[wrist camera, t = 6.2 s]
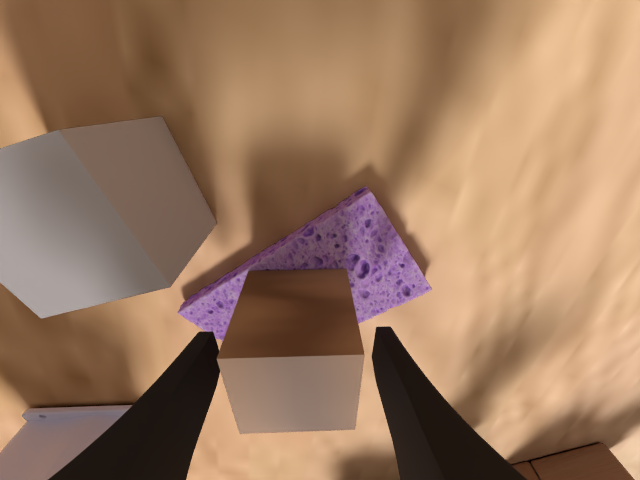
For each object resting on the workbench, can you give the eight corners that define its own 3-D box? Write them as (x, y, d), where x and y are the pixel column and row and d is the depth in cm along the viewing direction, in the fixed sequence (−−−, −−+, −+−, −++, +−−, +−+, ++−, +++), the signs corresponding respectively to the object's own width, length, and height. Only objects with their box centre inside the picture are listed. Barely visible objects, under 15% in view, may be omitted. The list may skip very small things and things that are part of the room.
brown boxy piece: (259, 338, 15) (239, 434, 11) (248, 270, 13) (216, 358, 9) (342, 336, 16) (355, 429, 11) (346, 268, 13) (364, 354, 9)
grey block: (128, 246, 13) (40, 318, 9) (56, 149, 11) (-111, 184, 7) (217, 222, 13) (170, 287, 9) (162, 115, 10) (57, 129, 6)
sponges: (420, 270, 16) (433, 291, 14) (262, 351, 19) (257, 376, 17) (364, 177, 13) (372, 189, 11) (187, 292, 16) (173, 314, 14)
